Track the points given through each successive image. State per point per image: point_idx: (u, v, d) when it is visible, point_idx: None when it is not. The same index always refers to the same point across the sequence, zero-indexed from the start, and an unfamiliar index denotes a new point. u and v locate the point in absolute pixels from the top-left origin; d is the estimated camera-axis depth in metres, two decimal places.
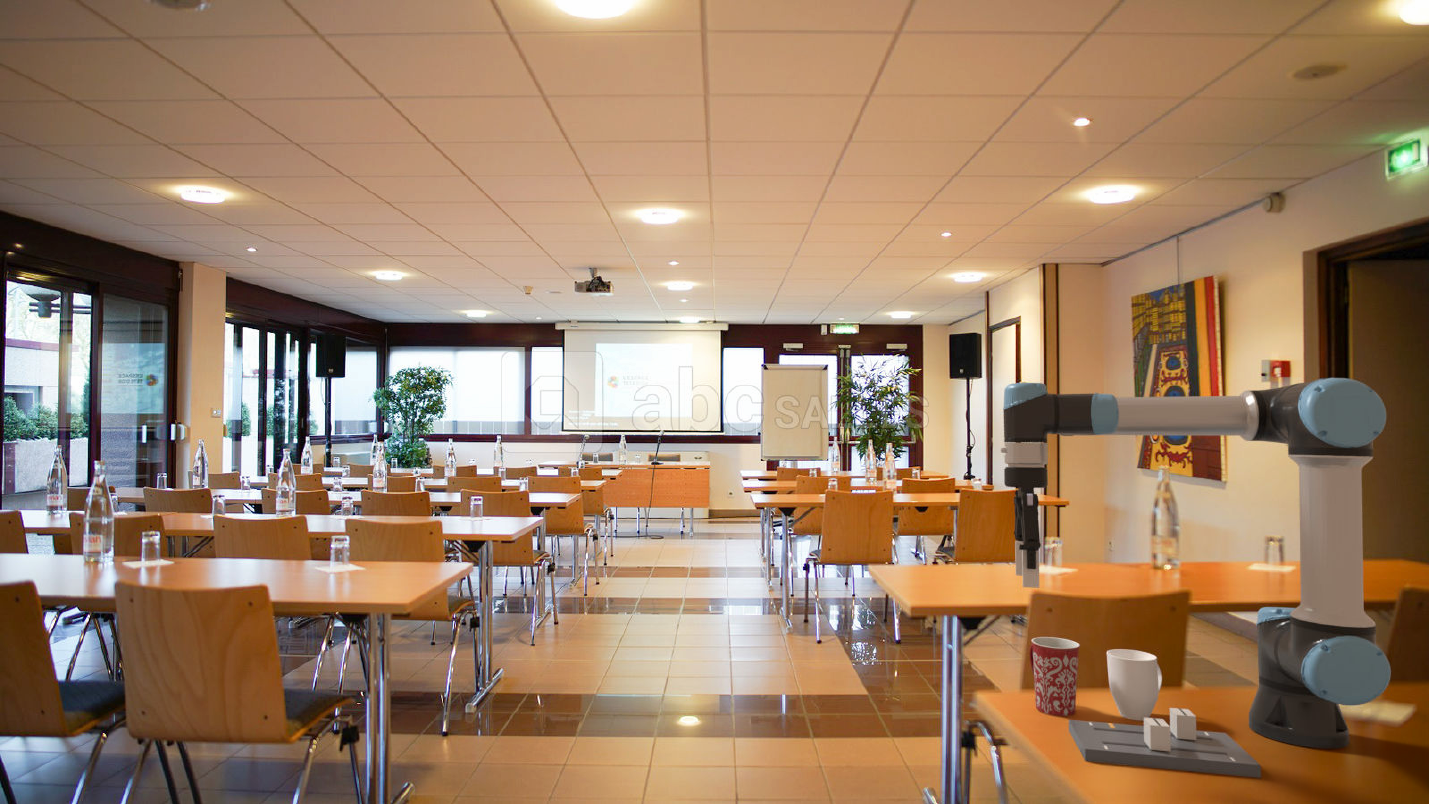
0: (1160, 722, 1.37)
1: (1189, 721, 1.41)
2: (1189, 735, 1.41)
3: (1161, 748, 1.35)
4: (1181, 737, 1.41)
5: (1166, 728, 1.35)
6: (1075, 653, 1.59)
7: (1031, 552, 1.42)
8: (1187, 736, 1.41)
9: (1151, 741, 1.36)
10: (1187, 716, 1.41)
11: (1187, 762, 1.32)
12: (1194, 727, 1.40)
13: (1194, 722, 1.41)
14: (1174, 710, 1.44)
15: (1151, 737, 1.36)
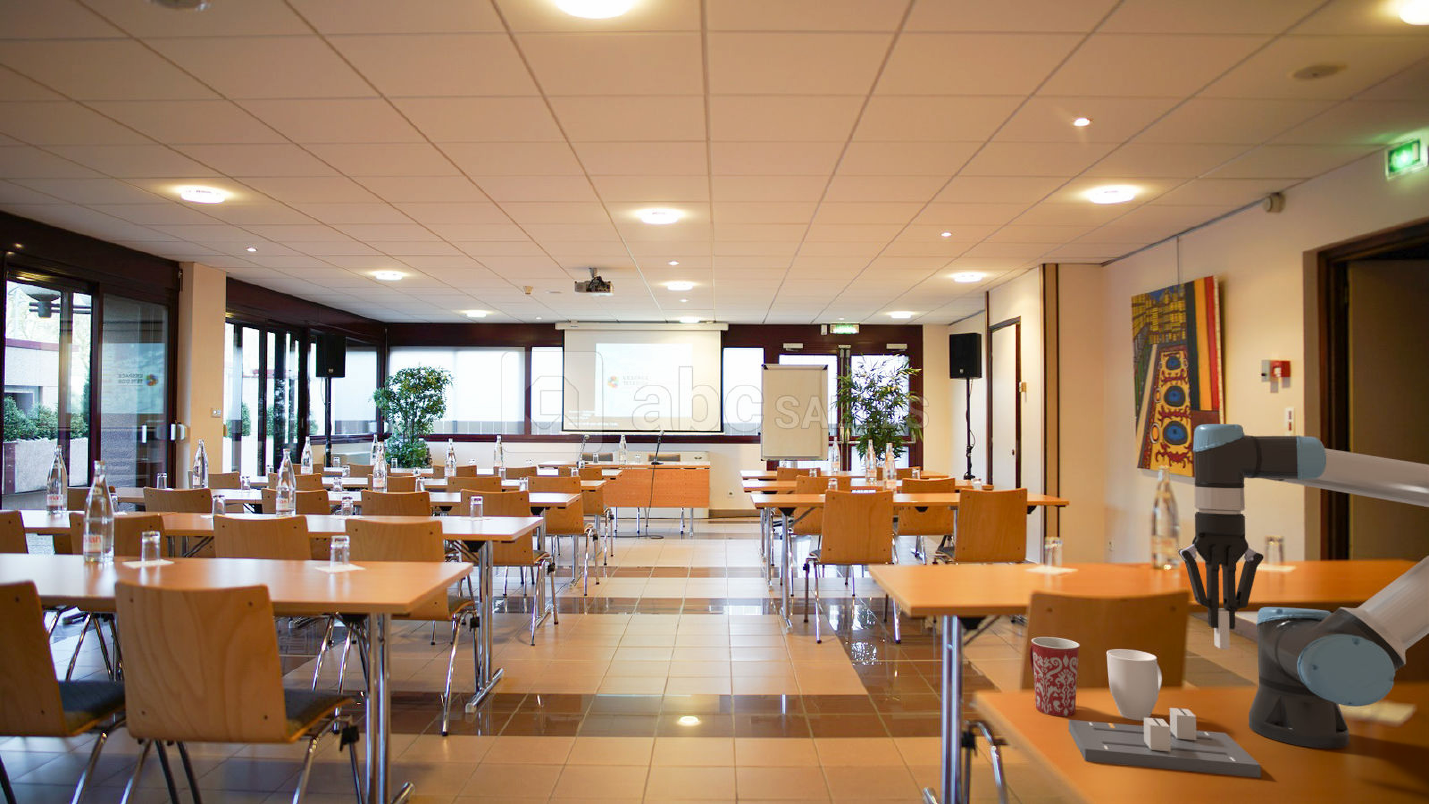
0: (1160, 722, 1.37)
1: (1189, 721, 1.41)
2: (1189, 735, 1.41)
3: (1161, 748, 1.35)
4: (1181, 737, 1.41)
5: (1166, 728, 1.35)
6: (1075, 653, 1.59)
7: (1209, 610, 1.43)
8: (1187, 736, 1.41)
9: (1151, 741, 1.36)
10: (1187, 716, 1.41)
11: (1187, 762, 1.32)
12: (1194, 727, 1.40)
13: (1194, 722, 1.41)
14: (1174, 710, 1.44)
15: (1151, 737, 1.36)
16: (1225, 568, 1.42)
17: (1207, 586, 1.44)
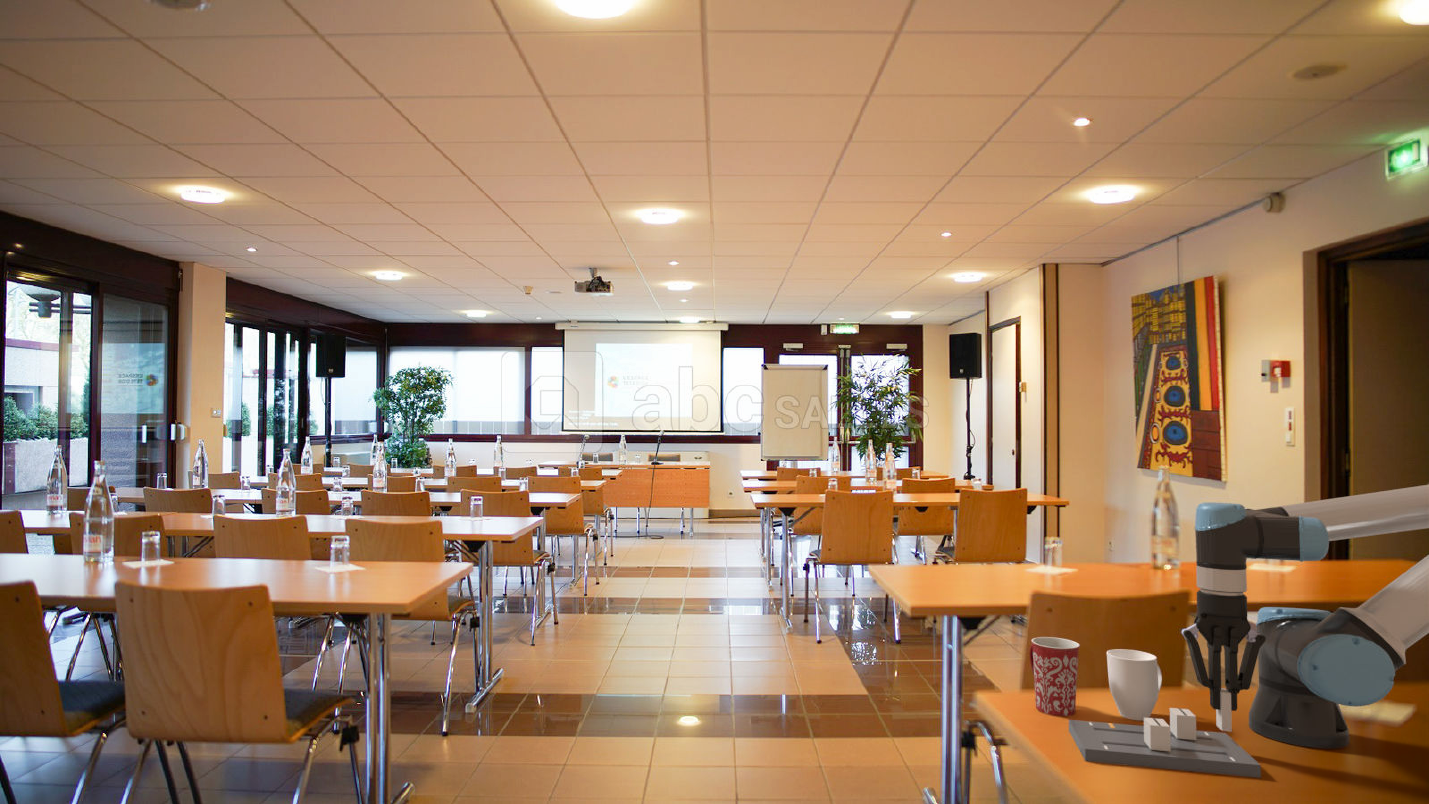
0: (1160, 722, 1.37)
1: (1189, 721, 1.41)
2: (1189, 735, 1.41)
3: (1161, 748, 1.35)
4: (1181, 737, 1.41)
5: (1166, 728, 1.35)
6: (1075, 653, 1.59)
7: (1210, 691, 1.42)
8: (1187, 736, 1.41)
9: (1151, 741, 1.36)
10: (1187, 716, 1.41)
11: (1187, 762, 1.32)
12: (1194, 727, 1.40)
13: (1194, 722, 1.41)
14: (1174, 710, 1.44)
15: (1151, 737, 1.36)
16: (1227, 649, 1.41)
17: (1209, 666, 1.43)
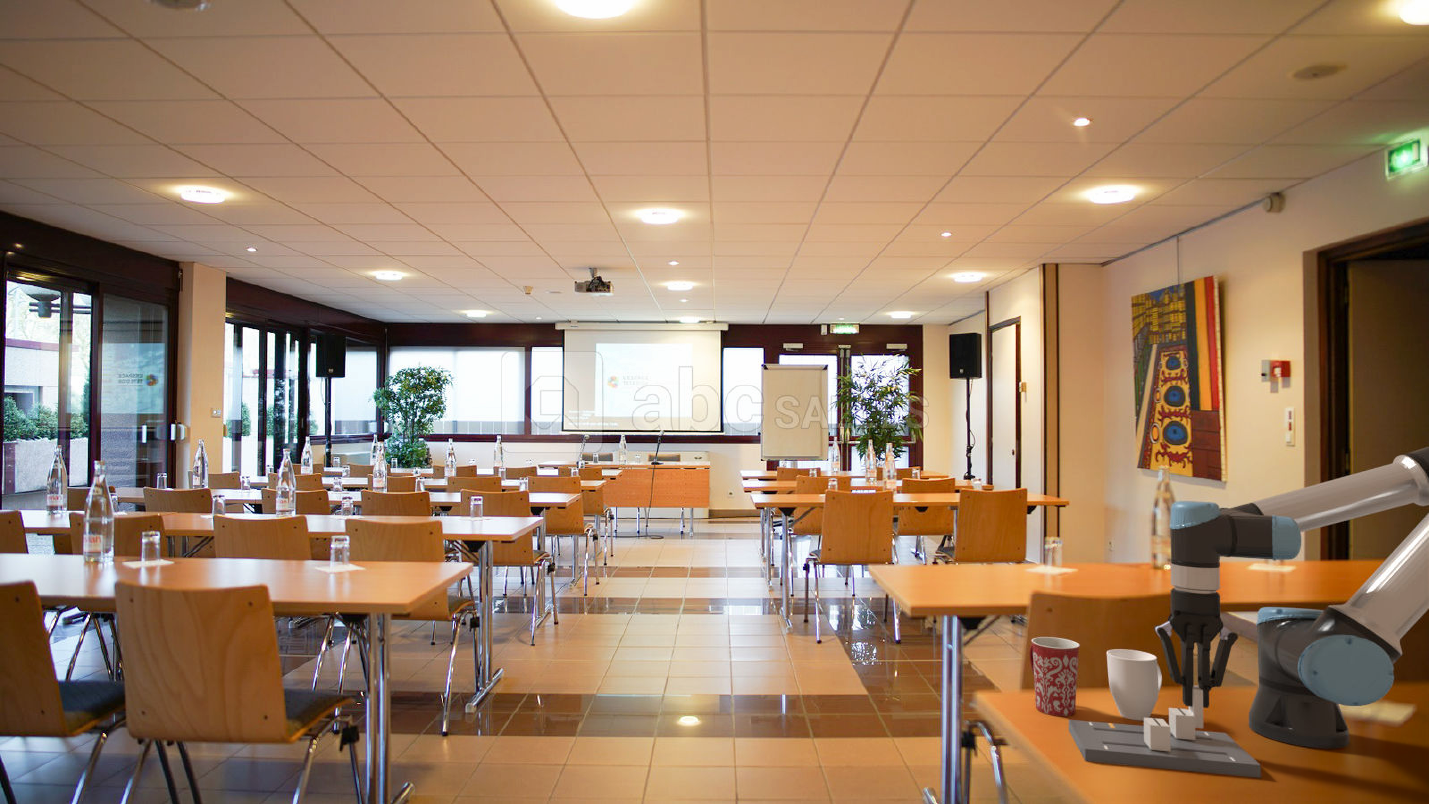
0: (1160, 722, 1.37)
1: (1188, 721, 1.41)
2: (1188, 735, 1.41)
3: (1161, 748, 1.35)
4: (1180, 737, 1.41)
5: (1166, 728, 1.35)
6: (1075, 653, 1.59)
7: (1183, 688, 1.43)
8: (1186, 736, 1.41)
9: (1151, 741, 1.36)
10: (1186, 716, 1.41)
11: (1187, 762, 1.32)
12: (1193, 727, 1.41)
13: (1193, 722, 1.41)
14: (1173, 710, 1.44)
15: (1151, 737, 1.36)
16: (1200, 647, 1.42)
17: (1182, 663, 1.44)
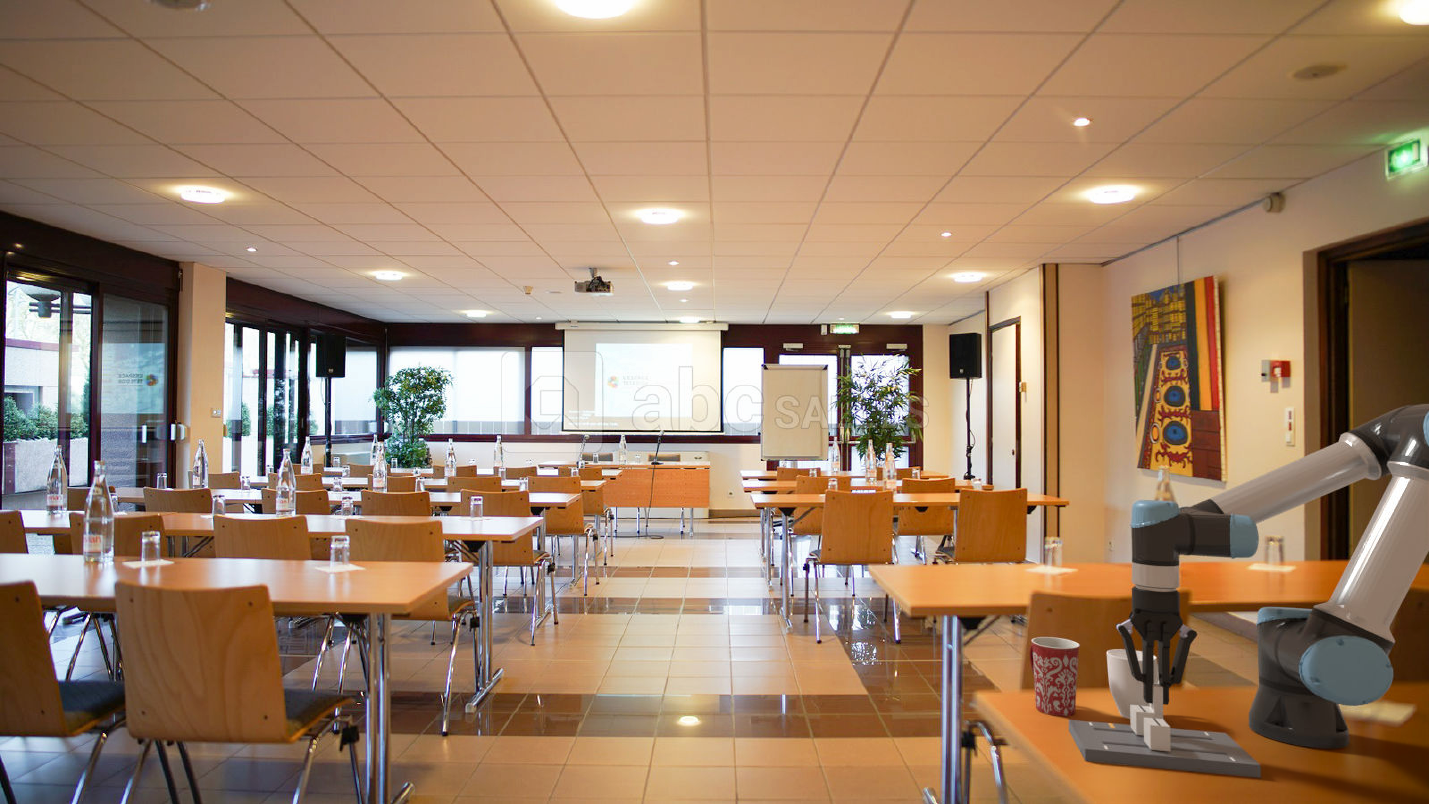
0: (1160, 722, 1.37)
1: None
2: None
3: (1161, 748, 1.35)
4: (1140, 733, 1.42)
5: (1166, 728, 1.35)
6: (1075, 653, 1.59)
7: (1144, 685, 1.44)
8: None
9: (1151, 741, 1.36)
10: (1146, 713, 1.42)
11: (1187, 762, 1.32)
12: None
13: None
14: (1134, 707, 1.45)
15: (1151, 737, 1.36)
16: (1160, 644, 1.44)
17: (1143, 661, 1.45)
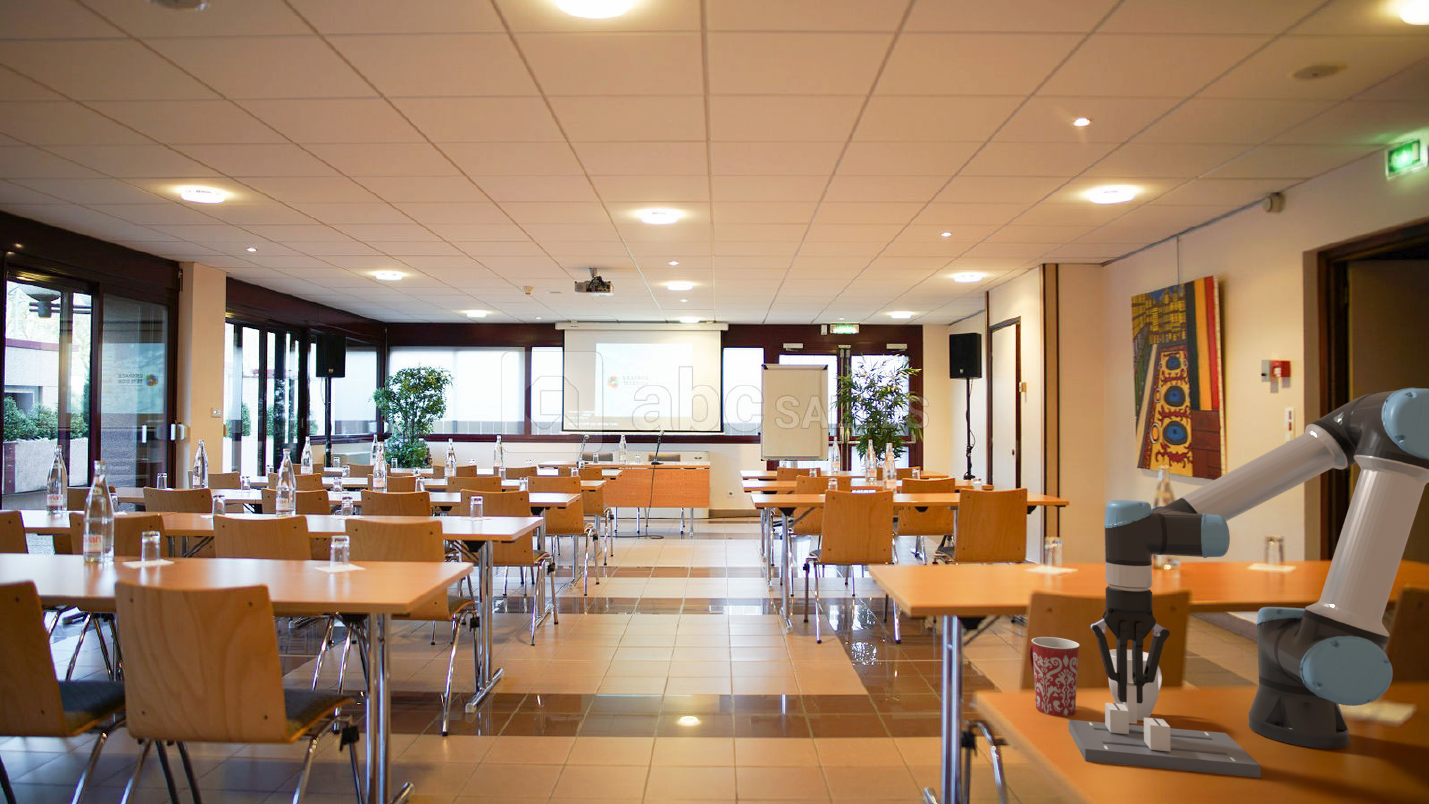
0: (1160, 722, 1.37)
1: (1122, 715, 1.43)
2: (1122, 729, 1.43)
3: (1161, 748, 1.35)
4: (1114, 731, 1.43)
5: (1166, 728, 1.35)
6: (1075, 653, 1.59)
7: (1118, 684, 1.45)
8: (1120, 730, 1.43)
9: (1151, 741, 1.36)
10: (1120, 711, 1.43)
11: (1187, 762, 1.32)
12: (1127, 721, 1.43)
13: (1127, 716, 1.43)
14: (1108, 705, 1.46)
15: (1151, 737, 1.36)
16: (1134, 643, 1.45)
17: (1117, 660, 1.46)
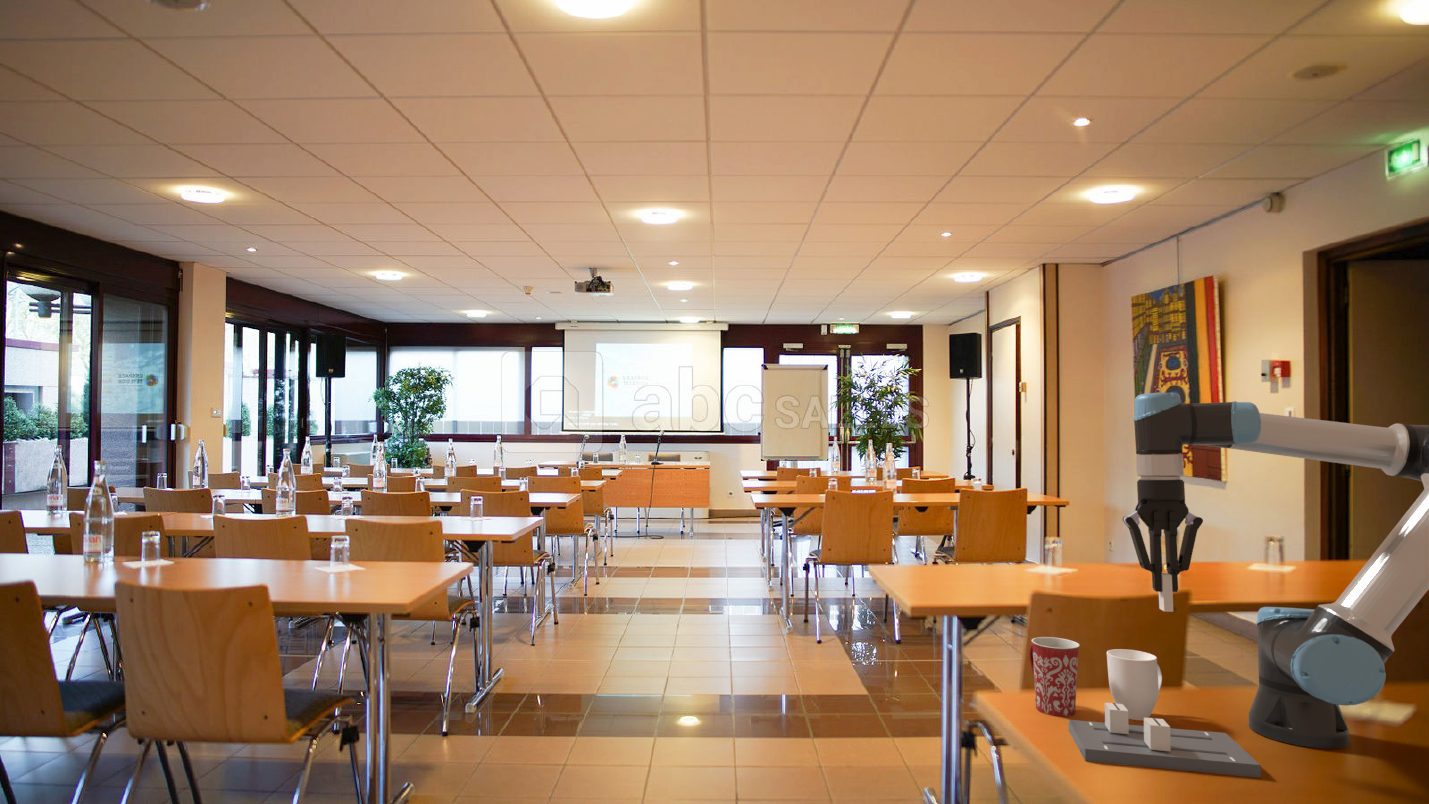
0: (1160, 722, 1.37)
1: (1122, 715, 1.43)
2: (1122, 729, 1.43)
3: (1161, 748, 1.35)
4: (1114, 731, 1.43)
5: (1166, 728, 1.35)
6: (1075, 653, 1.59)
7: (1153, 574, 1.46)
8: (1120, 730, 1.43)
9: (1151, 741, 1.36)
10: (1120, 711, 1.43)
11: (1187, 762, 1.32)
12: (1126, 721, 1.43)
13: (1126, 716, 1.43)
14: (1108, 705, 1.46)
15: (1151, 737, 1.36)
16: (1167, 533, 1.46)
17: (1151, 551, 1.47)
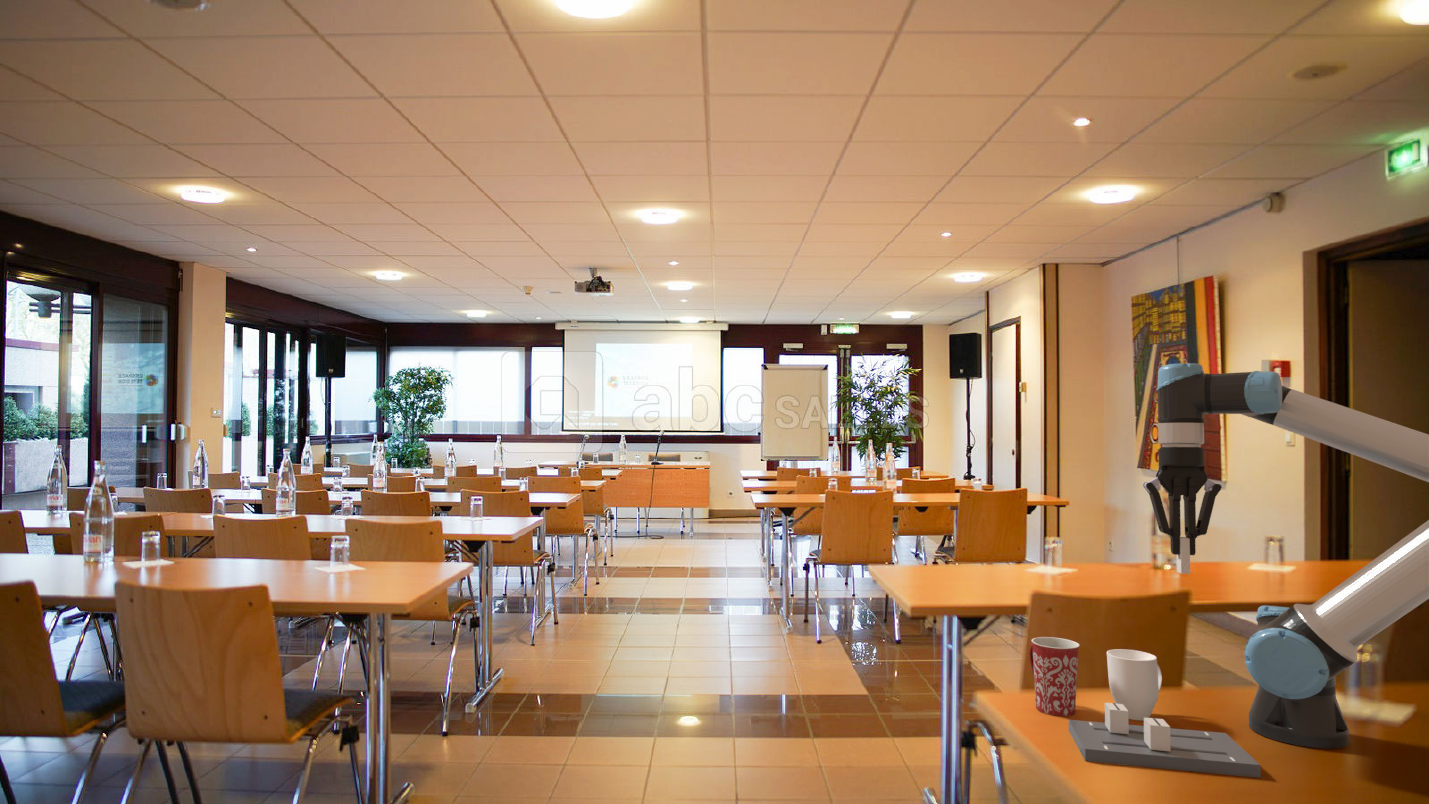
0: (1160, 722, 1.37)
1: (1122, 715, 1.43)
2: (1122, 729, 1.43)
3: (1161, 748, 1.35)
4: (1114, 731, 1.43)
5: (1166, 728, 1.35)
6: (1075, 653, 1.59)
7: (1171, 538, 1.52)
8: (1120, 730, 1.43)
9: (1151, 741, 1.36)
10: (1120, 711, 1.43)
11: (1187, 762, 1.32)
12: (1126, 721, 1.43)
13: (1126, 716, 1.43)
14: (1108, 705, 1.46)
15: (1151, 737, 1.36)
16: (1186, 499, 1.52)
17: (1170, 516, 1.53)
